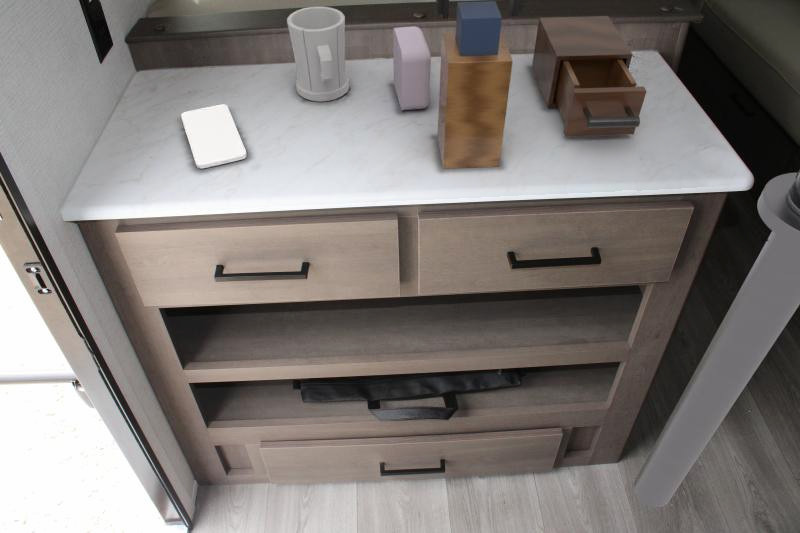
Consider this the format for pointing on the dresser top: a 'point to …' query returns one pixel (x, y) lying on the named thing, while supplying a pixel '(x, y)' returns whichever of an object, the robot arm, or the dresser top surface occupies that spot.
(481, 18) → the block
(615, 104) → the drawer
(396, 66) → the electronic device
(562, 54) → the cabinet
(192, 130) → the smartphone
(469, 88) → the stand
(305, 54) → the cup
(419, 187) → the dresser top surface
